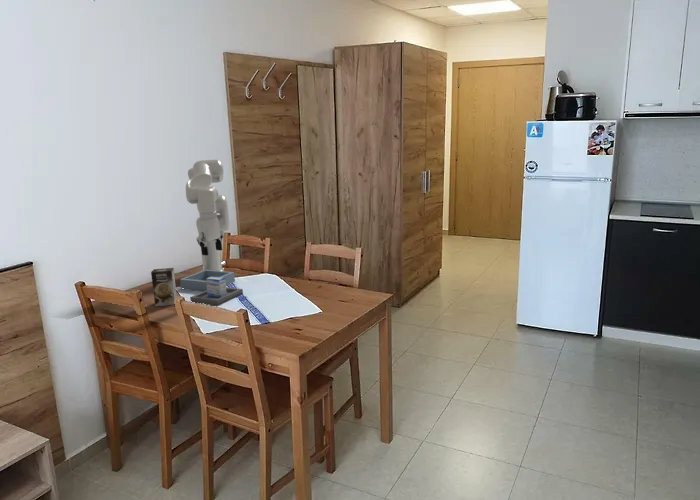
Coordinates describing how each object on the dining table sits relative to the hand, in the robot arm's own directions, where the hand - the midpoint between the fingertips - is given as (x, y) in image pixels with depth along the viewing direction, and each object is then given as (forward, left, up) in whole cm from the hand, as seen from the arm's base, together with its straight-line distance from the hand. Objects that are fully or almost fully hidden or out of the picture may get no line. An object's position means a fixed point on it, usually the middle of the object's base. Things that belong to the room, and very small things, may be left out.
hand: (212, 252), depth 246 cm
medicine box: (0, 0, -21) cm, 21 cm away
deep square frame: (-16, -19, -22) cm, 33 cm away
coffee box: (+14, -18, -22) cm, 32 cm away
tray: (0, 0, -22) cm, 22 cm away
